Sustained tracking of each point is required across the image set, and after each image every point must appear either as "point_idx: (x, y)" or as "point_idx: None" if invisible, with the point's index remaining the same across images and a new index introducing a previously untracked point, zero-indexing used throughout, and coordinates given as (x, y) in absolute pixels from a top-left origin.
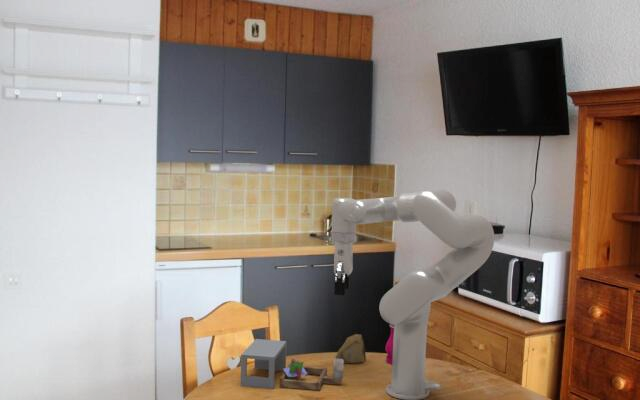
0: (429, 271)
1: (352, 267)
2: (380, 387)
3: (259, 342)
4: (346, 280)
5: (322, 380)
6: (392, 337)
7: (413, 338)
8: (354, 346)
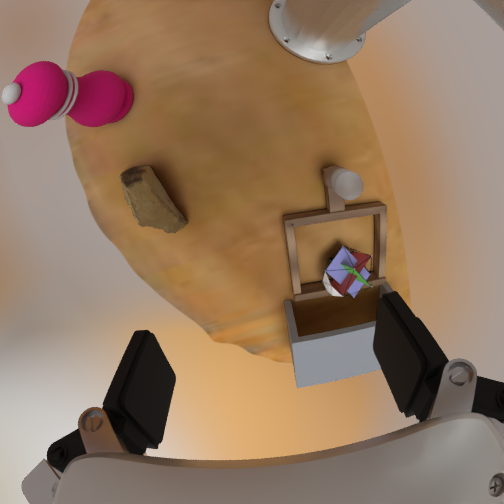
0: None
1: (99, 493)
2: (311, 78)
3: (320, 375)
4: (140, 390)
5: (346, 208)
6: (92, 99)
7: None
8: (158, 193)
